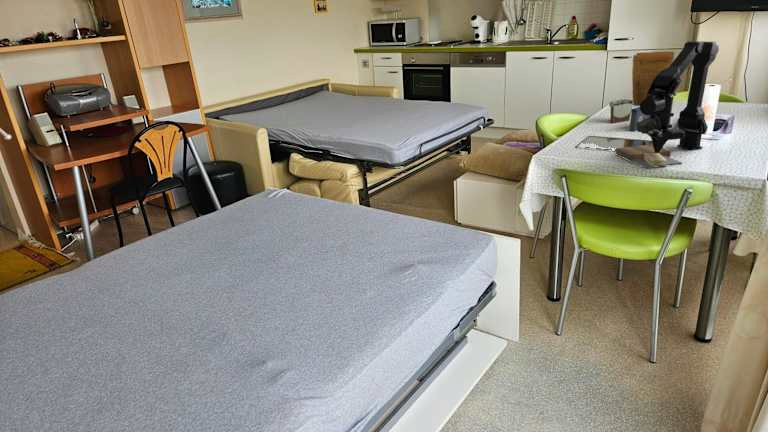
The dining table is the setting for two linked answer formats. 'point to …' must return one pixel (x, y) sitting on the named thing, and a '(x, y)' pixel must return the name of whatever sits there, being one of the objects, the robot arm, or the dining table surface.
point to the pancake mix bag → (647, 72)
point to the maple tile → (655, 159)
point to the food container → (621, 110)
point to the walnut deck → (640, 152)
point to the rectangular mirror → (614, 142)
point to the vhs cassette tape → (636, 118)
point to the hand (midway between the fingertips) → (656, 152)
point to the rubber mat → (646, 165)
